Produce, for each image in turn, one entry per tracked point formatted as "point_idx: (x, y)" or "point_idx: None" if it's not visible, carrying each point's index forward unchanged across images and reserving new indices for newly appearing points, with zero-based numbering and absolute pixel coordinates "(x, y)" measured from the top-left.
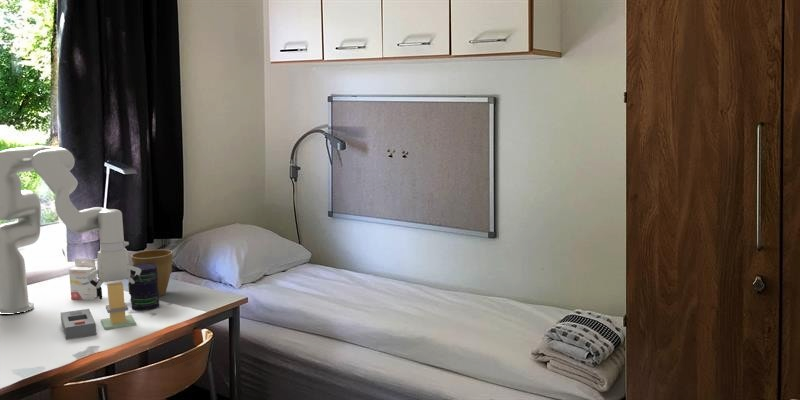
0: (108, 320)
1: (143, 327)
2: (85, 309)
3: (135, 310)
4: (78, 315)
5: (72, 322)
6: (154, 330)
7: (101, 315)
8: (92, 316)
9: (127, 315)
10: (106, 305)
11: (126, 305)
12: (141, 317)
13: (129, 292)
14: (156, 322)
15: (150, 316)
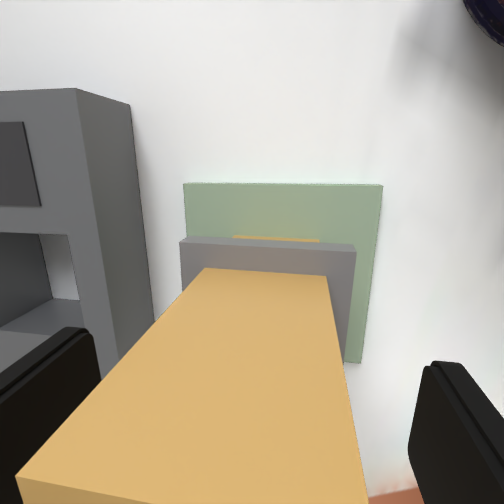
0: (225, 234)
1: (379, 408)
2: (51, 102)
3: (465, 4)
4: (26, 232)
5: (16, 358)
6: (411, 474)
7: (201, 23)
8: (110, 312)
9: (354, 190)
10: (186, 249)
11: (341, 344)
12: (435, 229)
13: (425, 422)
14: (474, 374)
15: (497, 240)
